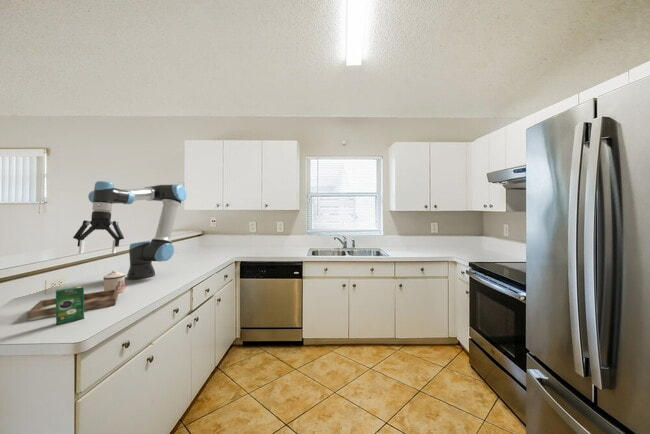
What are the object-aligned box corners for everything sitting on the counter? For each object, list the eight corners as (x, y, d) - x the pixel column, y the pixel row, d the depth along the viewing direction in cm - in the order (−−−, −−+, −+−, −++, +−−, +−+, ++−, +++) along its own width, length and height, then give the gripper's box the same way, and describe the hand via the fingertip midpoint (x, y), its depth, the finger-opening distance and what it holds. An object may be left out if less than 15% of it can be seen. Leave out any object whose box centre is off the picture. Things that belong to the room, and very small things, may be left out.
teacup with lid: (118, 294, 133) (118, 272, 133) (99, 295, 132) (98, 273, 131) (132, 287, 145) (131, 267, 144) (114, 288, 143) (113, 268, 143)
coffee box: (84, 316, 105) (83, 285, 105) (85, 318, 103) (83, 286, 103) (56, 323, 99) (54, 289, 99) (56, 325, 97) (54, 291, 97)
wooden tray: (117, 295, 131) (117, 288, 131) (115, 305, 117) (114, 297, 117) (41, 308, 115) (40, 300, 115) (27, 321, 101) (27, 312, 101)
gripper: (66, 209, 123) (61, 253, 121) (127, 211, 131) (123, 253, 128) (76, 211, 131) (72, 253, 128) (133, 213, 138) (130, 252, 136)
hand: (97, 253), depth 128 cm, fingers open, 13 cm apart
